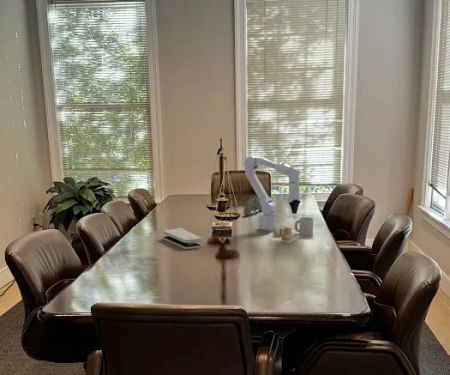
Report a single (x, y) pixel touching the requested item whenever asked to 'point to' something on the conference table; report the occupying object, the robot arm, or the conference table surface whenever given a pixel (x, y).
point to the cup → (304, 226)
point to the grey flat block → (182, 238)
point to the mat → (270, 236)
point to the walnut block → (277, 231)
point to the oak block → (286, 234)
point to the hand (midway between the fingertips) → (294, 213)
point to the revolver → (252, 205)
